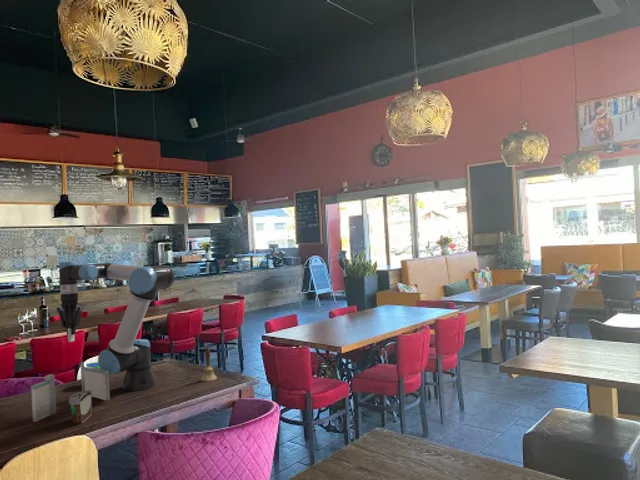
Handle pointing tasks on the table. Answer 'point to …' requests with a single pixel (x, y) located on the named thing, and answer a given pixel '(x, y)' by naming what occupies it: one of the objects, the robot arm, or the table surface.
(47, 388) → the fence
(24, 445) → the table surface
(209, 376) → the hand bell
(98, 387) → the gate
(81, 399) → the food container
